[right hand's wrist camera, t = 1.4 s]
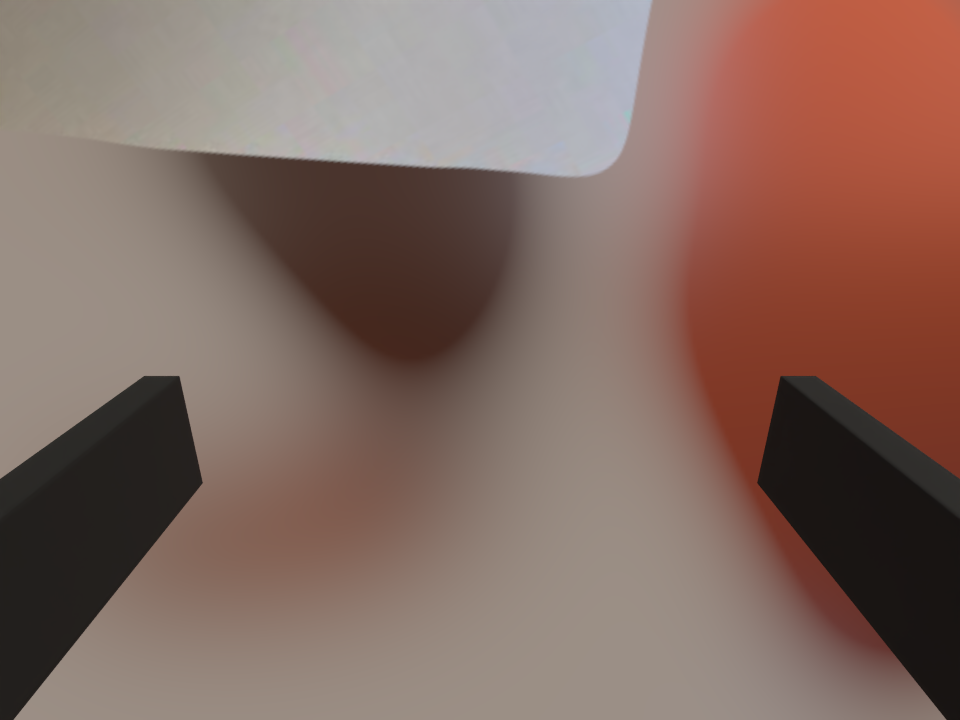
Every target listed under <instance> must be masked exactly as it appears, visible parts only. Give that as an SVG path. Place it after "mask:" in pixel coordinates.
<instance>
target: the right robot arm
mask: <svg viewBox="0 0 960 720" xmlns="http://www.w3.org/2000/svg"><path fill="white" fill-rule="evenodd" d="M202 483H203V482H202V478H201V473H200V469H199V464H198V459H197V455H196V451H195V446H194V441H193V437H192V432H191V427H190V423H189V418H188V414H187V409H186V405H185V400H184V395H183V391H182V386H181V382H180V377H179V376H144V377H142V378H141V379H139V380H138V381H137V382H135V383H134V384H133V385H131V386H130V387H128V388H127V389H126V390H124V391H123V392H121V393H120V394H119V395H117V396H116V397H114V398H113V399H112V400H110V401H109V402H107V403H106V404H105V405H103V406H102V407H100V408H99V409H98V410H96V411H95V412H93V413H92V414H91V415H89V416H88V417H86V418H85V419H84V420H82V421H81V422H79V423H78V424H77V425H75V426H74V427H72V428H71V429H70V430H68V431H67V432H65V433H64V434H63V435H61V436H60V437H58V438H57V439H56V440H54V441H53V442H51V443H50V444H49V445H47V446H46V447H44V448H43V449H42V450H40V451H39V452H37V453H36V454H35V455H33V456H32V457H30V458H29V459H28V460H26V461H25V462H23V463H22V464H21V465H19V466H18V467H16V468H15V469H14V470H12V471H11V472H9V473H8V474H7V475H5V476H4V477H2V478H1V479H0V720H14V718H15V717H16V716H17V715H18V713H19V712H20V711H21V710H22V708H23V707H24V706H25V705H26V703H27V702H28V701H29V700H30V698H31V697H32V696H33V695H34V693H35V692H36V691H37V690H38V688H39V687H40V686H41V685H42V683H43V682H44V681H45V680H46V678H47V677H48V676H49V675H50V673H51V672H52V671H53V670H54V668H55V667H56V666H57V665H58V663H59V662H60V661H61V660H62V658H63V657H64V656H65V655H66V653H67V652H68V651H69V650H70V648H71V647H72V646H73V645H74V643H75V642H76V641H77V640H78V638H79V637H80V636H81V634H82V633H83V632H84V631H85V629H86V628H87V627H88V626H89V624H90V623H91V622H92V621H93V620H94V618H95V617H96V616H97V614H98V613H99V612H100V611H101V610H102V608H103V607H104V606H105V605H106V603H107V602H108V601H109V600H110V598H111V597H112V596H113V595H114V593H115V592H116V591H117V590H118V588H119V587H120V586H121V585H122V583H123V582H124V581H125V580H126V578H127V577H128V576H129V575H130V573H131V572H132V571H133V569H134V568H135V567H136V566H137V565H138V563H139V562H140V561H141V560H142V558H143V557H144V556H145V555H146V553H147V552H148V551H149V550H150V548H151V547H152V546H153V544H154V543H155V542H156V541H157V540H158V538H159V537H160V536H161V534H162V533H163V532H164V531H165V529H166V528H167V527H168V526H169V524H170V523H171V522H172V521H173V519H174V518H175V517H176V516H177V514H178V513H179V512H180V511H181V509H182V508H183V507H184V506H185V504H186V503H187V502H188V501H189V499H190V498H191V497H192V496H193V494H194V493H195V492H196V491H197V489H198V488H199V487H200V486H201V484H202ZM757 483H758V484H759V486H760V487H761V488H762V489H763V491H764V492H765V493H766V494H767V496H768V497H769V498H770V499H771V501H772V502H773V503H774V504H775V506H776V507H777V508H778V509H779V511H780V512H781V513H782V514H783V516H784V517H785V518H786V519H787V521H788V522H789V523H790V524H791V526H792V527H793V528H794V529H795V531H796V532H797V533H798V535H799V536H800V537H801V538H802V540H803V541H804V542H805V543H806V545H807V546H808V547H809V548H810V549H811V551H812V552H813V553H814V555H815V556H816V557H817V558H818V560H819V561H820V562H821V563H822V565H823V566H824V567H825V568H826V569H827V571H828V572H829V573H830V575H831V576H832V577H833V578H834V579H835V581H836V582H837V583H838V584H839V586H840V587H841V588H842V589H843V591H844V592H845V593H846V594H847V596H848V597H849V598H850V599H851V601H852V602H853V603H854V605H855V606H856V607H857V608H858V610H859V611H860V612H861V613H862V615H863V616H864V617H865V618H866V620H867V621H868V622H869V623H870V625H871V626H872V627H873V628H874V630H875V631H876V632H877V633H878V635H879V636H880V637H881V638H882V640H883V641H884V642H885V643H886V645H887V646H888V647H889V648H890V649H891V651H892V652H893V653H894V654H895V656H896V657H897V658H898V659H899V661H900V662H901V663H902V665H903V666H904V667H905V668H906V670H907V671H908V672H909V673H910V675H911V676H912V677H913V678H914V680H915V681H916V682H917V683H918V685H919V686H920V687H921V688H922V690H923V691H924V692H925V693H926V695H927V696H928V697H929V698H930V699H931V701H932V702H933V703H934V705H935V706H936V707H937V708H938V710H939V711H940V712H941V713H942V715H943V716H944V717H945V718H946V720H960V479H959V478H958V477H956V476H955V475H953V474H952V473H951V472H949V471H948V470H946V469H945V468H944V467H942V466H941V465H939V464H938V463H937V462H935V461H934V460H932V459H931V458H930V457H928V456H927V455H925V454H924V453H923V452H921V451H920V450H918V449H917V448H916V447H914V446H913V445H911V444H910V443H909V442H907V441H906V440H904V439H903V438H902V437H900V436H899V435H897V434H896V433H895V432H893V431H892V430H890V429H889V428H888V427H886V426H885V425H883V424H882V423H881V422H879V421H878V420H876V419H875V418H874V417H872V416H871V415H869V414H868V413H867V412H865V411H864V410H862V409H861V408H860V407H858V406H857V405H855V404H854V403H853V402H851V401H850V400H848V399H847V398H846V397H844V396H843V395H841V394H840V393H839V392H837V391H836V390H834V389H833V388H832V387H830V386H829V385H827V384H826V383H825V382H823V381H822V380H820V379H819V378H818V377H816V376H781V377H780V382H779V386H778V391H777V395H776V400H775V404H774V409H773V414H772V418H771V423H770V427H769V432H768V437H767V441H766V446H765V450H764V455H763V459H762V464H761V469H760V473H759V478H758V482H757Z"/></svg>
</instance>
